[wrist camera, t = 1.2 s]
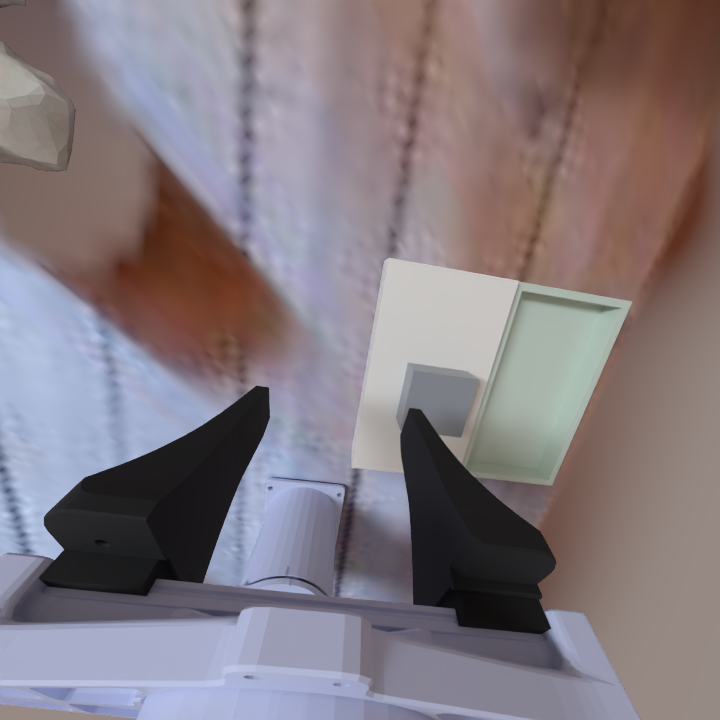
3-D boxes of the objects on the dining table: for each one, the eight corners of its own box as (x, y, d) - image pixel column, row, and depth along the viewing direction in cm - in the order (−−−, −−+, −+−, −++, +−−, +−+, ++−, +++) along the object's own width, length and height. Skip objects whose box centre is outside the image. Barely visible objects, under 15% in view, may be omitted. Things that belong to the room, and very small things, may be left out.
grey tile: (451, 424, 22) (461, 437, 21) (395, 417, 22) (400, 430, 20) (466, 371, 21) (478, 379, 19) (407, 362, 21) (413, 370, 19)
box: (537, 471, 27) (551, 485, 25) (449, 461, 26) (457, 475, 25) (608, 300, 22) (632, 301, 21) (502, 281, 22) (517, 281, 20)
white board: (447, 461, 26) (457, 479, 24) (351, 450, 26) (351, 467, 23) (500, 281, 22) (519, 280, 19) (384, 261, 21) (388, 257, 18)
